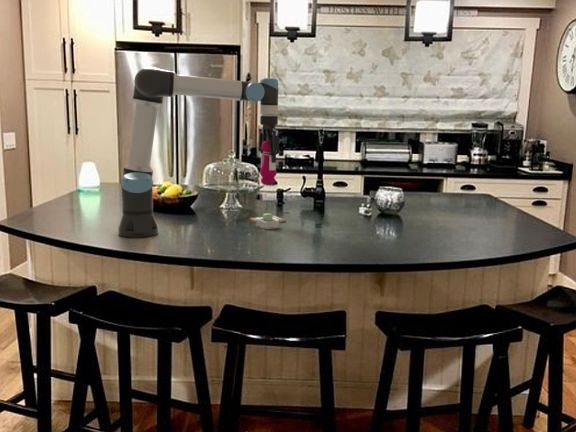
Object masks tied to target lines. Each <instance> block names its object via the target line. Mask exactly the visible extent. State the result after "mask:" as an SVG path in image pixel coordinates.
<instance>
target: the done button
mask: <svg viewBox="0 0 576 432" xmlns="http://www.w3.org/2000/svg"><path fill="white" fill-rule="evenodd" d="M272 216H273V213H269V212H266V213H263V214H262V217H263V221H265V222H266V221H272Z"/></svg>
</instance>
